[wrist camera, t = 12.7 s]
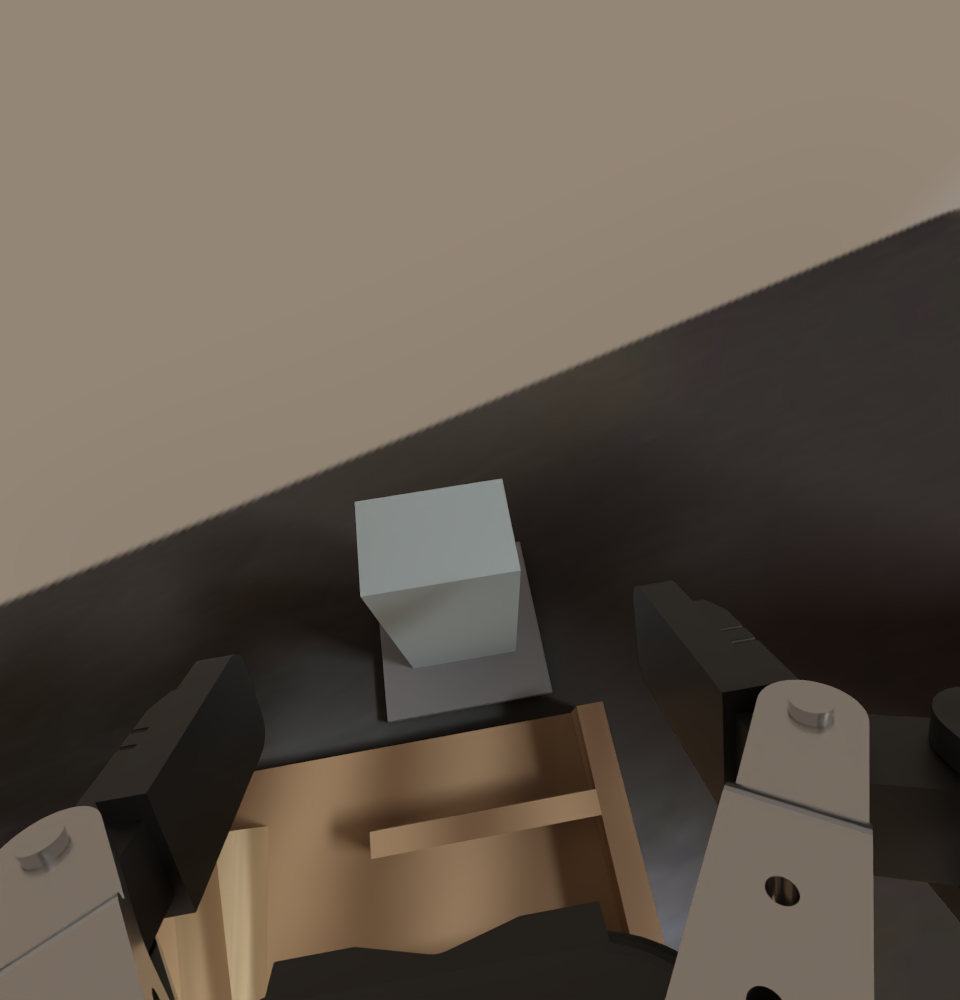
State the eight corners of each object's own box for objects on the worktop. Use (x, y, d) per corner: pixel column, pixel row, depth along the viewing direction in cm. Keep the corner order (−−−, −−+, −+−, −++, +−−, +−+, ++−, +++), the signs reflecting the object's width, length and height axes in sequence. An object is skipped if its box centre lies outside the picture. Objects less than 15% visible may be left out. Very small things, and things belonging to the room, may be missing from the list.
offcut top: (214, 833, 19) (168, 839, 16) (238, 1063, 16) (189, 1114, 14) (116, 871, 18) (54, 883, 16) (124, 1114, 16) (52, 1173, 13)
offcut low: (268, 825, 21) (234, 830, 19) (266, 1073, 18) (225, 1120, 15) (175, 843, 21) (128, 850, 19) (156, 1095, 18) (96, 1147, 15)
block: (503, 586, 26) (502, 478, 17) (515, 651, 25) (520, 570, 16) (406, 602, 26) (354, 501, 17) (413, 668, 24) (360, 596, 16)
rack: (591, 711, 24) (602, 701, 21) (677, 1058, 19) (705, 1102, 16) (162, 791, 23) (116, 790, 20) (128, 1174, 18) (62, 1241, 15)
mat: (519, 545, 27) (519, 541, 27) (551, 693, 24) (552, 691, 24) (376, 570, 27) (374, 566, 27) (390, 723, 24) (387, 721, 23)
